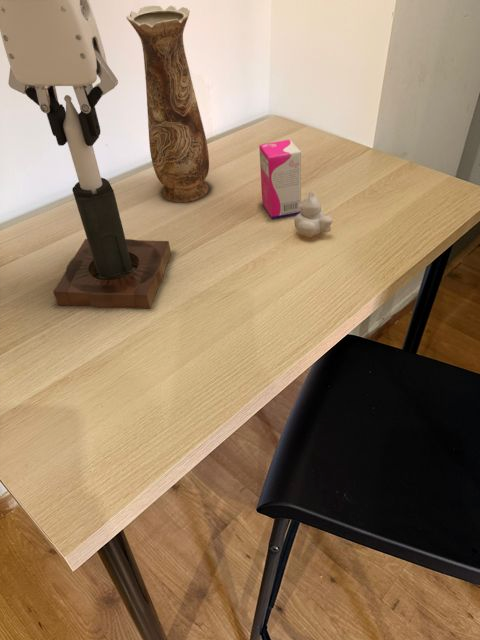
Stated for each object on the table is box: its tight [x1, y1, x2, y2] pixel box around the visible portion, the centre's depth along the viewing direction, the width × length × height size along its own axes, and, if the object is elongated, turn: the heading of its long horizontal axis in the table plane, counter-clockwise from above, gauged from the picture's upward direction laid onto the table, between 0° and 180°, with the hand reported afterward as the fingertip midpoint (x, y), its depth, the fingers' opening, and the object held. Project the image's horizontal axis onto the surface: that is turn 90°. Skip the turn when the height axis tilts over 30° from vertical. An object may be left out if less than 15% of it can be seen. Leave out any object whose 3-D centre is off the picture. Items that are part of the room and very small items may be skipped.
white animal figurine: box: [293, 189, 334, 238], centre depth 87 cm, size 5×7×8 cm
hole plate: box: [52, 238, 172, 309], centre depth 82 cm, size 14×14×2 cm
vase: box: [125, 5, 210, 203], centre depth 92 cm, size 10×11×30 cm
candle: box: [63, 94, 133, 279], centre depth 73 cm, size 5×5×25 cm
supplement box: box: [258, 139, 302, 221], centre depth 92 cm, size 6×6×12 cm
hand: (78, 140), depth 68 cm, fingers closed on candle, 3 cm apart
